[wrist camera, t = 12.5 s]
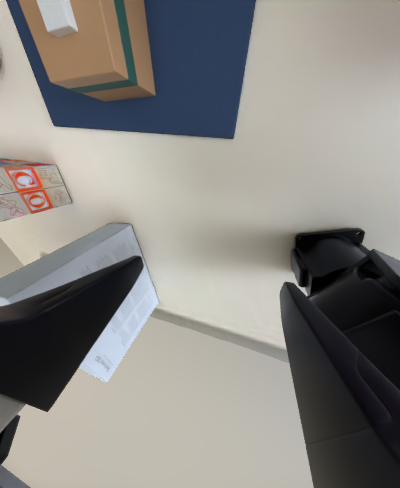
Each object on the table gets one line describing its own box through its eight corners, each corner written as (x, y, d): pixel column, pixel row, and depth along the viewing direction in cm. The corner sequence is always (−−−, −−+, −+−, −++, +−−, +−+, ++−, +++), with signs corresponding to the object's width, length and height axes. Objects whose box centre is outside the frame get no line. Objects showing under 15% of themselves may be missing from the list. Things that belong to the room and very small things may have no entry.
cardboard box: (136, -70, 10) (28, -284, 5) (156, 96, 15) (109, 68, 10) (67, -40, 12) (-68, -184, 7) (105, 102, 16) (41, 80, 11)
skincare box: (107, 222, 26) (-27, 288, 14) (131, 223, 25) (7, 298, 12) (141, 298, 37) (84, 375, 24) (159, 301, 36) (109, 386, 23)
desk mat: (287, -197, 7) (289, -212, 7) (233, 138, 15) (233, 138, 15) (-24, -91, 12) (-32, -97, 12) (56, 126, 20) (53, 125, 19)
